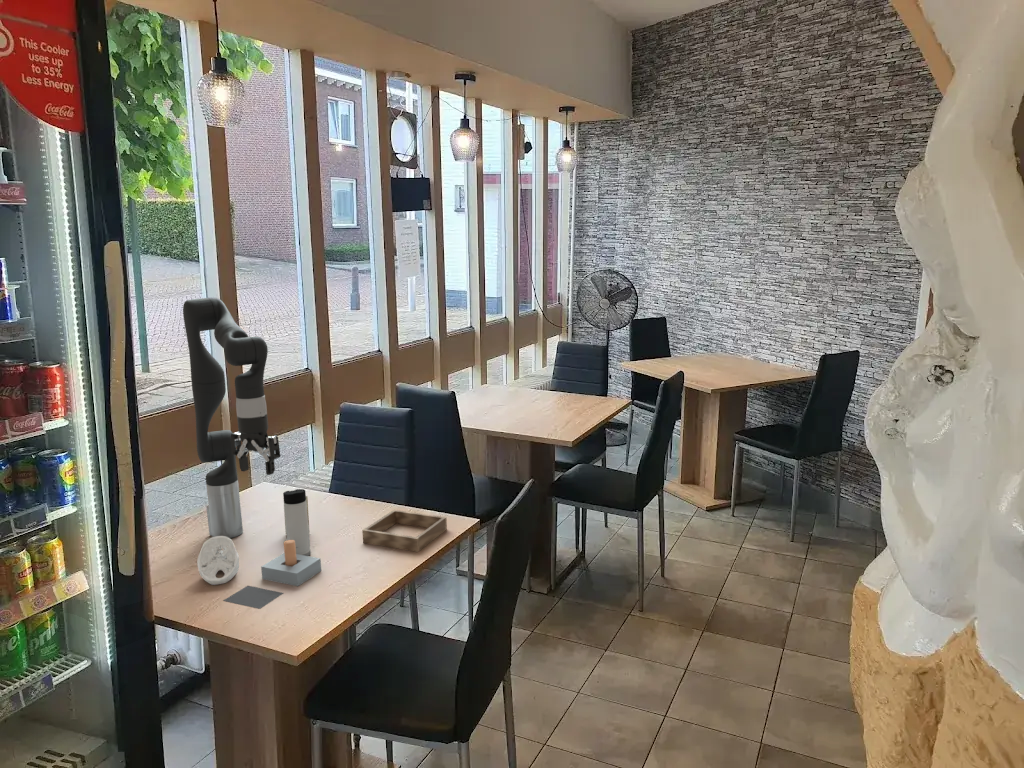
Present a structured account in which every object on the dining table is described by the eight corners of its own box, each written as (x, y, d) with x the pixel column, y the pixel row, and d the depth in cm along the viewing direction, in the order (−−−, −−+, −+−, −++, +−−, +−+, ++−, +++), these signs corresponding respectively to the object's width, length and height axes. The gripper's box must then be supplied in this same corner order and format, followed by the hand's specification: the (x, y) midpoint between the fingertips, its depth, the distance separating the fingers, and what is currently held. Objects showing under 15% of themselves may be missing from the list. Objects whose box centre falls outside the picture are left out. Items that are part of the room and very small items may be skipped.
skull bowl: (244, 555, 221) (238, 530, 212) (242, 598, 211) (236, 573, 203) (205, 559, 218) (198, 534, 210) (201, 603, 209) (193, 578, 200)
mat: (223, 602, 196) (222, 600, 196) (247, 586, 204) (247, 585, 204) (260, 610, 192) (259, 608, 191) (283, 594, 200) (283, 592, 200)
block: (262, 580, 208) (261, 566, 207) (286, 565, 217) (285, 552, 216) (298, 587, 203) (296, 573, 202) (321, 571, 212) (320, 558, 211)
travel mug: (291, 561, 219) (285, 495, 215) (286, 553, 225) (280, 488, 221) (313, 556, 222) (307, 491, 218) (307, 548, 228) (302, 484, 224)
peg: (284, 577, 209) (281, 543, 207) (291, 573, 212) (288, 539, 210) (293, 579, 208) (290, 544, 206) (300, 574, 211) (297, 540, 209)
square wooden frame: (363, 542, 231) (362, 530, 230) (394, 521, 247) (394, 509, 247) (417, 551, 224) (417, 538, 223) (446, 529, 240) (446, 517, 239)
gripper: (220, 414, 200) (226, 473, 203) (263, 418, 194) (269, 479, 198) (240, 408, 207) (246, 465, 210) (283, 411, 201) (288, 471, 204)
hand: (257, 472), depth 204 cm, fingers open, 8 cm apart
